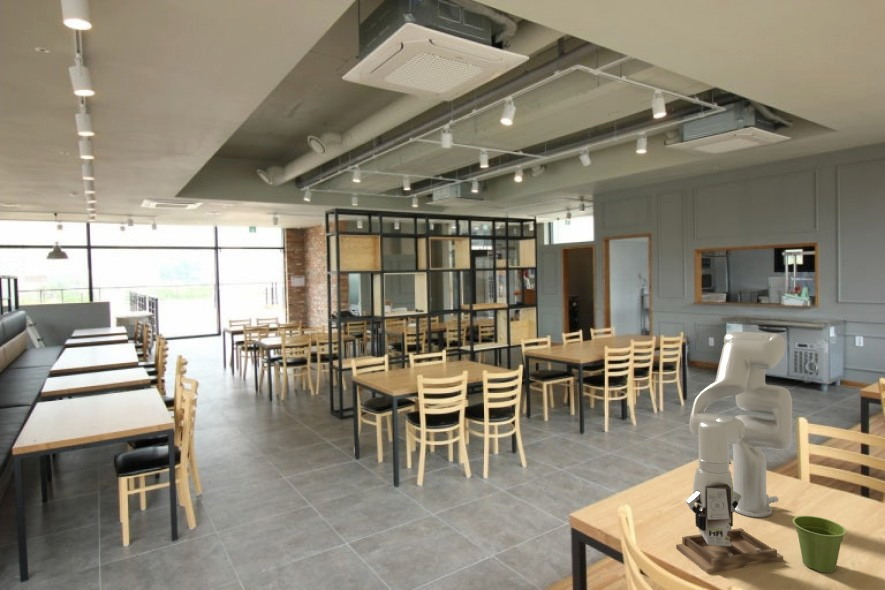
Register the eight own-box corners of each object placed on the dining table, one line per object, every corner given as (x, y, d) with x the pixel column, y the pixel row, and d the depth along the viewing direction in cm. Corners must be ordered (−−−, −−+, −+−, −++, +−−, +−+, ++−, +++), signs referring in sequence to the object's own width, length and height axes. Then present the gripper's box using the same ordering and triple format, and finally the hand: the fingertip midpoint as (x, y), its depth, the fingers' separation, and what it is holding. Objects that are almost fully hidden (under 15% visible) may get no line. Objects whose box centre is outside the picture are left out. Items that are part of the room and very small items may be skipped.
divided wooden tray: (747, 537, 158) (746, 524, 158) (783, 560, 146) (783, 546, 145) (676, 548, 154) (676, 535, 153) (707, 573, 141) (707, 558, 141)
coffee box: (732, 546, 143) (732, 488, 143) (707, 545, 144) (706, 487, 144) (721, 530, 152) (721, 475, 152) (697, 529, 153) (697, 474, 153)
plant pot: (858, 574, 138) (858, 532, 138) (820, 581, 136) (820, 538, 135) (817, 551, 150) (817, 512, 149) (782, 557, 147) (781, 518, 147)
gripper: (730, 457, 153) (731, 516, 154) (677, 464, 149) (678, 524, 150) (750, 466, 146) (751, 528, 146) (695, 473, 142) (696, 537, 143)
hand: (714, 526), depth 148 cm, fingers closed on coffee box, 8 cm apart
